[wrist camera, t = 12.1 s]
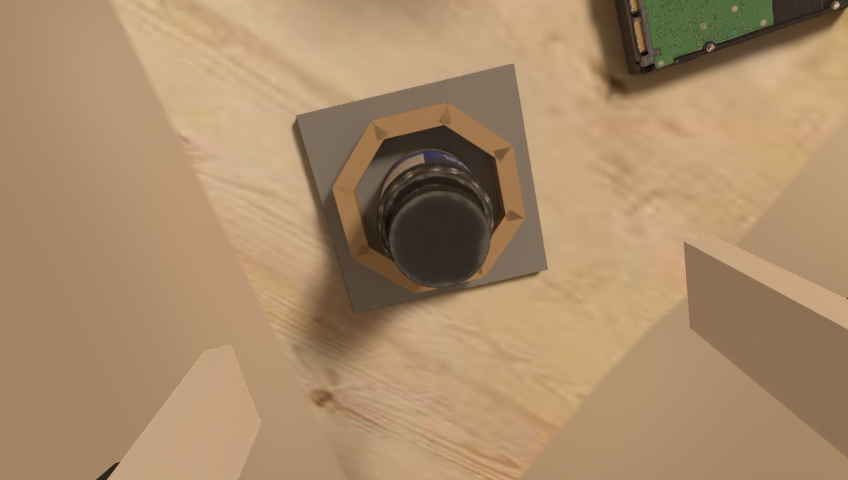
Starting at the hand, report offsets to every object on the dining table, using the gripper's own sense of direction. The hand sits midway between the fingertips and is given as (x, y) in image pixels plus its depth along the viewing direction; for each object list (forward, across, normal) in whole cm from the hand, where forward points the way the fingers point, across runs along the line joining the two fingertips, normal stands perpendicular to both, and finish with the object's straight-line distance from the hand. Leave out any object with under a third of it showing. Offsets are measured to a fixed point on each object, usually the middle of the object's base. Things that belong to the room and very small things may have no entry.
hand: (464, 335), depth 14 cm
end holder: (+20, 0, 0) cm, 21 cm away
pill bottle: (+20, 0, 0) cm, 20 cm away
